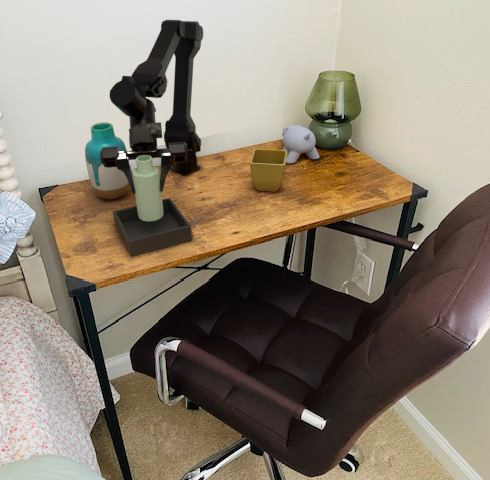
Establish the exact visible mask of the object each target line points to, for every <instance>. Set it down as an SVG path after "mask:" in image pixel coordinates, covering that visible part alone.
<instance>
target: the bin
mask: <svg viewBox="0 0 490 480" xmlns="http://www.w3.org/2000/svg"><path fill="white" fill-rule="evenodd" d="M162 202H163V216H162V217H161V218H160V219H158V220H156V221H143V220H141V219H140V218H139V217H138V211H137V205H133V206H129V207H125V208H120V209H115V210H112V215H113V220H114V226H115V228H116V230H117V232H118V234H119V236H120V238H121V240H122V242H123V244H124V246H125V247H126V249H127V252H128V253H129V255H130V258H132V257H137V256H141V255H144V254H148V253H151V252H155V251H159V250H162V249H167V248H171V247H174V246H178V245H183V244H185V243H189V242H192V241H193V234H192V225H191V224H190V223H189V222H188V220H187V218H186V217H185V216H184V215H183V213H182V212H181V210H180V209H179V208H178V206H177V205H176V204H175V202H173V200H172V199H171V197H167V198H164V199H163V198H162Z"/></svg>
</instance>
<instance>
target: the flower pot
mask: <svg viewBox="0 0 490 480" xmlns="http://www.w3.org/2000/svg"><path fill="white" fill-rule="evenodd" d="M286 156H287V150H283V149H270V148H269V149H268V148H267V149H266V148H254V149H253V150H252V155H251V159H250V161H249V167H250V178H251V182H252V184H253V186H254V188H255V189H256V191H258V192H272V193H274V192H275V193H276V192H278V190H279V189H280V188H281V185H282V183H283V180H284V174H285V169H286V164H287V162H286Z"/></svg>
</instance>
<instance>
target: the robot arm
mask: <svg viewBox="0 0 490 480" xmlns="http://www.w3.org/2000/svg"><path fill="white" fill-rule="evenodd" d="M203 38H204V28H203V26H202V25H200V23H199V21H197V20H196V21H195V20H193V21H192V20H181V19H165V20H162V22H161V24H160V31H159V33H158V34H157V37H156V40H155V42H154V44H153V46H152V48H151V50H150V52H149V54H148V57H147V58H146V60H144V61H143V62H141V63H140V64H138V65H137V66H136V67H135V69H134V70H133V72H132V74H131V75H121V76H122V77H121V80H120V81H117V82H115V84H114V85H113V86H112V87H111V89H110V90H109V100H110V102H111V103H112V104H113V105H114V106H115V107H116V108H117V109H118V110H119V111H120V112H121V113H123V114H124V115H125V116H127V117H129V128H128V140H129V141H128V142H129V149H130V150H127V151H120V150H119V147H118V146H117V147H103V148H102V149H101V150H100V159H101V161H102V163H103V165H104V167H107V168H109V167H117V169H118V170H123V172H124V174H125V176H126V177H127V179H128V182H129V185H130V190H131V192H132V194H134V195H135V190H134V183H133V176H132V171H133V170H132V167H131V164H130V161H136V158H137V157H138V156H141V155H149V156H151V157H152V159H160V172H159V174H160V190H161V193H162V192H164V188H165V184H166V180H167V177H168V174H169V172H170V171H172V172H174V173H177V174H179V175H182V176H188V175H190V174H192V173H195V172H196V171H199V170H200V169H201V168H202V167H201V165H198V156H197V153H199V152H201V150H202V149H201V148H202V139H201V138H200V136H199V135H198V133H197V132H196V131H197V128H196V123H195V121H194V120H193V118H192V116H191V111H192V110H191V109H192V94H193V76H194V75H193V74H194V62H195V61H194V59H195V58H196V56H197V55H198V53H199V52H200V50H201V47H202V46H201V45H202V41H203ZM173 57H174V59H175V60H174V77H173V78H174V81H173V97H172V98H173V99H172V100H173V101H172V114H171V116H170V118H169V119H168V120H166V121H165V123H164V129H165V130H164V132H163V127H162V122H156V112H157V109H156V106H155V103H154V102H153V101H152V100H151V99H149V98H153V99H161V98H162V97H163V96H164V94H165V93H166V91H167V88H168V78H167V75H166V73H167V70H168V68H169V66H170V63H171V61H172V59H173ZM158 139H163V141H164V144H165V145H164V146H165V148H158Z"/></svg>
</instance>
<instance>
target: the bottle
mask: <svg viewBox="0 0 490 480" xmlns="http://www.w3.org/2000/svg"><path fill="white" fill-rule="evenodd" d="M135 163H136V167H135V168H134V169H132V170H131V171H132V176H133V183H134V190H135V194H134V196H135V204H136V206H137V211H138V217H139V218H140V219H141V220H143V221H156V220H158V219H160V218H161V217H162V216H163V202H162V200H163V193H162V192H161V190H160V169H159V168H158V167H157V166H155V165H154V163H153V158H152V157H151V156H149V155H141V156H138V157H137V158H136V160H135Z"/></svg>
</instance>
